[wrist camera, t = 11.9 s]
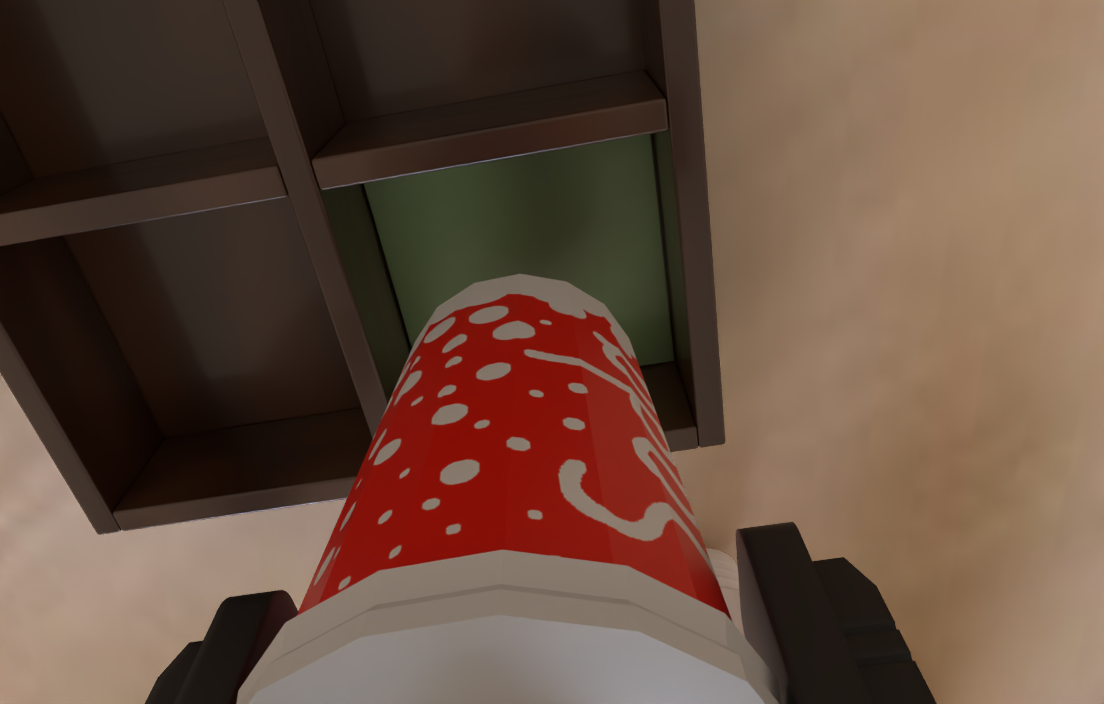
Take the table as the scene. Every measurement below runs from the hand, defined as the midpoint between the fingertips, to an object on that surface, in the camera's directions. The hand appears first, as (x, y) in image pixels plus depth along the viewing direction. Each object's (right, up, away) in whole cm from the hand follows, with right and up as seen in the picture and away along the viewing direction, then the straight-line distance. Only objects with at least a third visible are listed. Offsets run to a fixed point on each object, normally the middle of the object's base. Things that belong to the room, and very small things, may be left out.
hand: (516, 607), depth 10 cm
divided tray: (-5, +9, +9) cm, 14 cm away
